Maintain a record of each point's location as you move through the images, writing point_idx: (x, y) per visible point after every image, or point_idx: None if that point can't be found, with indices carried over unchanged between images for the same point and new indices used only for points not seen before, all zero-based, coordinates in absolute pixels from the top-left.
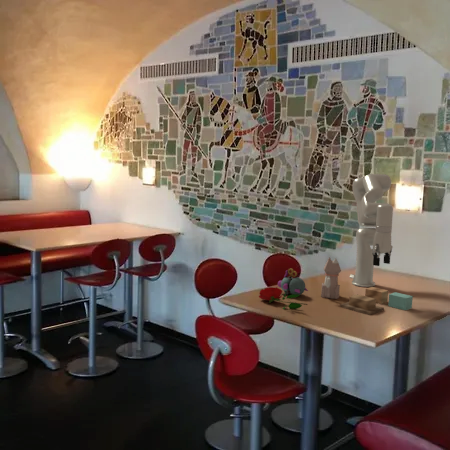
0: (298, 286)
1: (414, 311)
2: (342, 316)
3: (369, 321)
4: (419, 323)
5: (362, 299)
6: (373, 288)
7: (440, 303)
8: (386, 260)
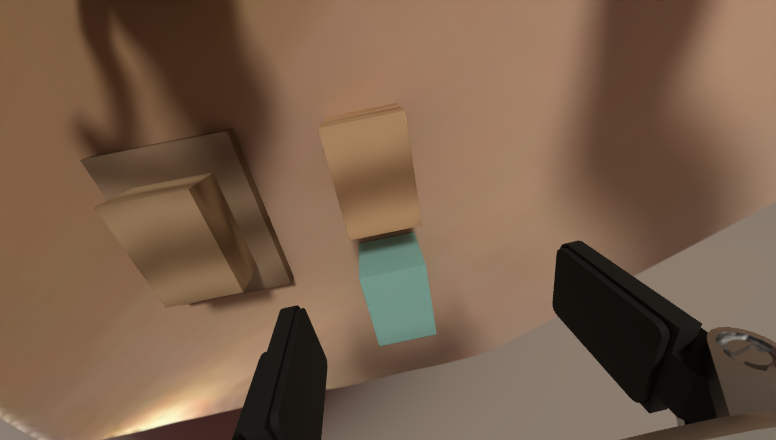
0: None
1: None
2: (39, 272)
3: (140, 343)
4: None
5: (155, 276)
6: (375, 151)
7: None
8: (581, 310)
